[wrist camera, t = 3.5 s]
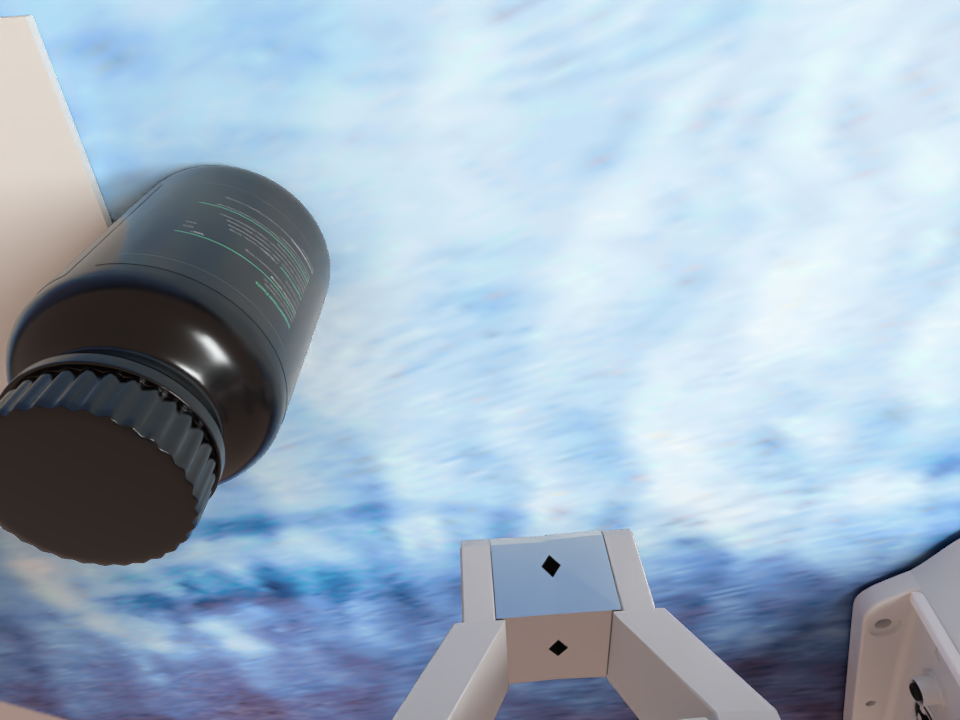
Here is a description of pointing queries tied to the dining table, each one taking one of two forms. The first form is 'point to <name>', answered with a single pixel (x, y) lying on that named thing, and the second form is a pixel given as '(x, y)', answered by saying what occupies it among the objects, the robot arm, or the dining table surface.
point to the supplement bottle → (157, 366)
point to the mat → (38, 176)
